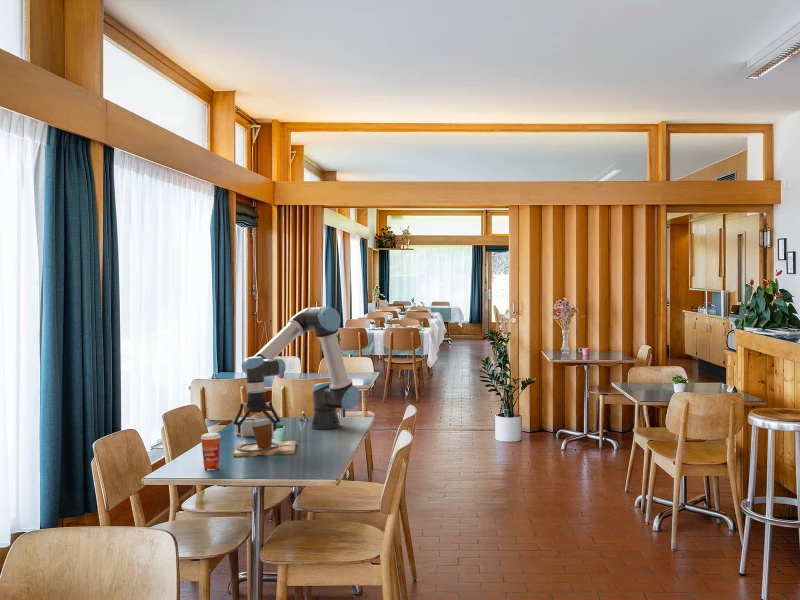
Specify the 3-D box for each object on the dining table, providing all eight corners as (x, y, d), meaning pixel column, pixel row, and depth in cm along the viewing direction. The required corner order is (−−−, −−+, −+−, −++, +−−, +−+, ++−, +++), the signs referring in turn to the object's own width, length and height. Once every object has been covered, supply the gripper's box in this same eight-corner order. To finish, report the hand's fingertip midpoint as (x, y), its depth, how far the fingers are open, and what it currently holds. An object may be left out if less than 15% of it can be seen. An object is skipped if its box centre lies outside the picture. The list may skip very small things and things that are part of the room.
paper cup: (198, 471, 275) (197, 436, 275) (205, 466, 283) (204, 432, 283) (218, 471, 275) (217, 436, 275) (224, 466, 282) (223, 432, 282)
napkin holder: (271, 433, 348) (268, 416, 344) (268, 439, 343) (265, 421, 340) (239, 433, 350) (236, 416, 347) (236, 438, 346) (233, 421, 343)
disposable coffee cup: (252, 446, 313) (248, 420, 313) (273, 442, 316) (270, 416, 316) (255, 450, 304) (251, 423, 304) (277, 445, 307) (273, 418, 307)
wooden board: (295, 444, 322) (295, 439, 322) (294, 453, 302) (294, 448, 302) (238, 447, 318) (238, 442, 318) (233, 457, 298) (233, 452, 298)
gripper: (226, 394, 304) (227, 442, 304) (283, 391, 307) (285, 439, 307) (228, 391, 312) (229, 439, 312) (284, 389, 315) (286, 436, 315)
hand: (257, 439), depth 310 cm, fingers open, 13 cm apart
